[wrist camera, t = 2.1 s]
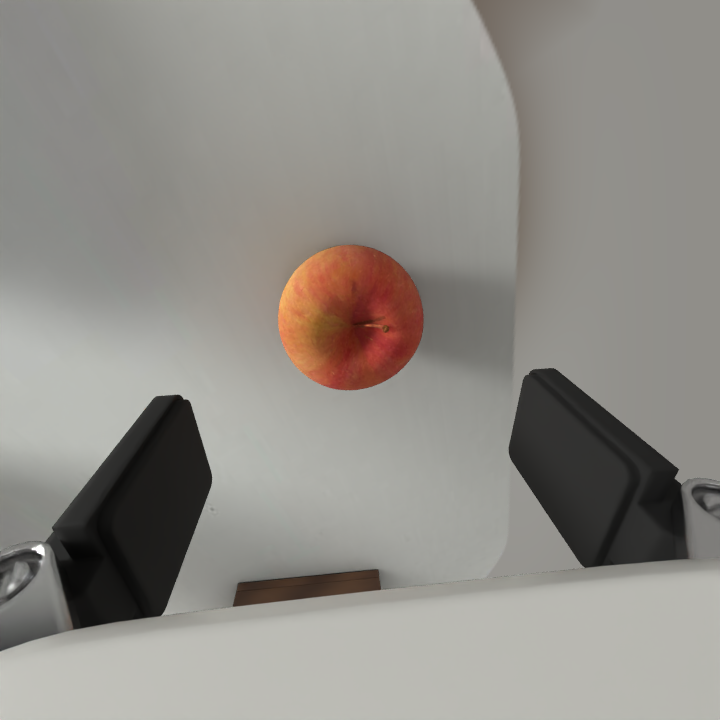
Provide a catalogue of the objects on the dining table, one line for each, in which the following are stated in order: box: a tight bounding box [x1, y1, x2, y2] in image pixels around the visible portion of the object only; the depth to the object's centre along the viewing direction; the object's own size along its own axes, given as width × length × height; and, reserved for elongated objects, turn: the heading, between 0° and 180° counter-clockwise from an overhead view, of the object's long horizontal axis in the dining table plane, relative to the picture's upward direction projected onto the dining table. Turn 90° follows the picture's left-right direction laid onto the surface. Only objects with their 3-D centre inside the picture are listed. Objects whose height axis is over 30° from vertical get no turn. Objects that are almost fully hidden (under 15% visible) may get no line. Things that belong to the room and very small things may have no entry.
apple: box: [278, 245, 423, 390], centre depth 18 cm, size 7×7×8 cm
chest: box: [233, 570, 381, 607], centre depth 32 cm, size 14×11×11 cm
